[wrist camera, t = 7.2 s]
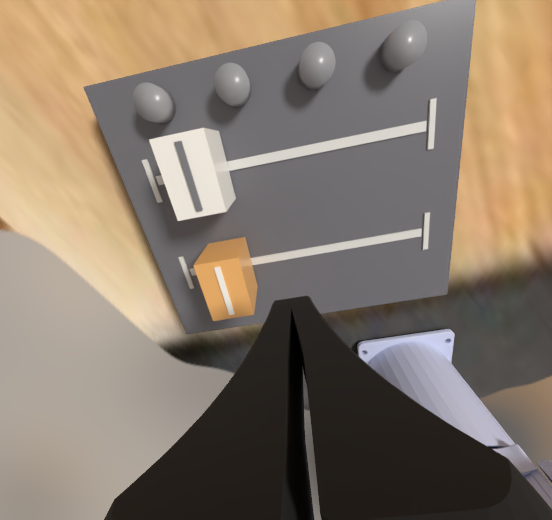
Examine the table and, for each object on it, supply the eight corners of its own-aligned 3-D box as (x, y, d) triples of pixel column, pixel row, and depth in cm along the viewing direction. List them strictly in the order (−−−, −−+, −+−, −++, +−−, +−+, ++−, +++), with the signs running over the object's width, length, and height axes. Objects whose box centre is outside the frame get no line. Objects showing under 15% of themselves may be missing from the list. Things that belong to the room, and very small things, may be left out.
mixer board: (431, 280, 20) (458, 304, 17) (194, 317, 21) (181, 345, 18) (449, 13, 13) (498, -24, 10) (107, 93, 15) (65, 81, 12)
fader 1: (235, 198, 15) (226, 212, 12) (196, 206, 15) (177, 221, 12) (219, 130, 14) (202, 127, 11) (175, 140, 14) (147, 139, 11)
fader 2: (257, 286, 18) (253, 315, 14) (223, 291, 18) (212, 322, 15) (245, 236, 16) (238, 258, 13) (208, 243, 16) (192, 266, 13)
